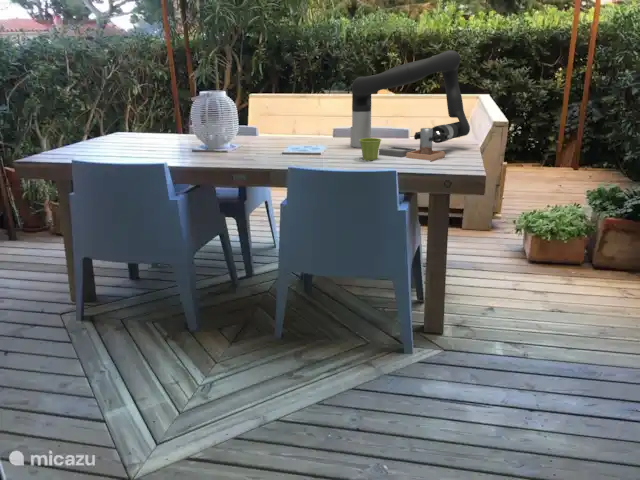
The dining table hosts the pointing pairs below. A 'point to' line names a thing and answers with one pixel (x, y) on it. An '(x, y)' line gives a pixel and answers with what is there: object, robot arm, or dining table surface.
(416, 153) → the bin
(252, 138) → the dining table surface
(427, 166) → the dining table surface
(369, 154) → the plant pot
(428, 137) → the grey upright cylinder
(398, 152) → the bin
